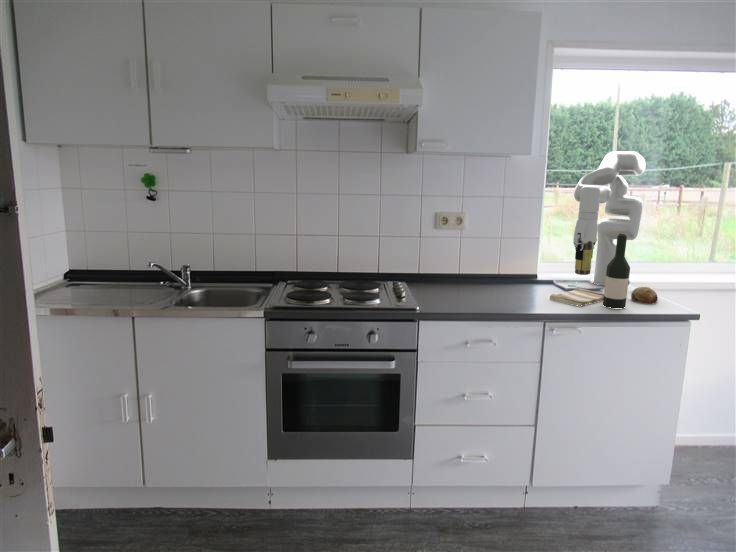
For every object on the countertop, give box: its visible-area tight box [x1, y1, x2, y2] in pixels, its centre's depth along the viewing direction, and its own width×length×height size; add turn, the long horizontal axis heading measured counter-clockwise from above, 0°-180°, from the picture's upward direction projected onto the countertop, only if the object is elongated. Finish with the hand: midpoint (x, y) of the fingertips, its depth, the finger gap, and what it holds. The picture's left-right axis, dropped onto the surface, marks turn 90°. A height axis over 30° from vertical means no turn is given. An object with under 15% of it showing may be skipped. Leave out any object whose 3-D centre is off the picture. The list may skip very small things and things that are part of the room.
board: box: [549, 287, 604, 307], centre depth 217 cm, size 22×14×2 cm, turn 125°
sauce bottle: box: [574, 241, 593, 276], centre depth 213 cm, size 6×6×20 cm
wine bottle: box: [602, 233, 631, 309], centre depth 203 cm, size 8×8×30 cm
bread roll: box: [630, 286, 658, 305], centre depth 215 cm, size 10×10×8 cm
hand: (583, 258), depth 214 cm, fingers closed on sauce bottle, 6 cm apart
